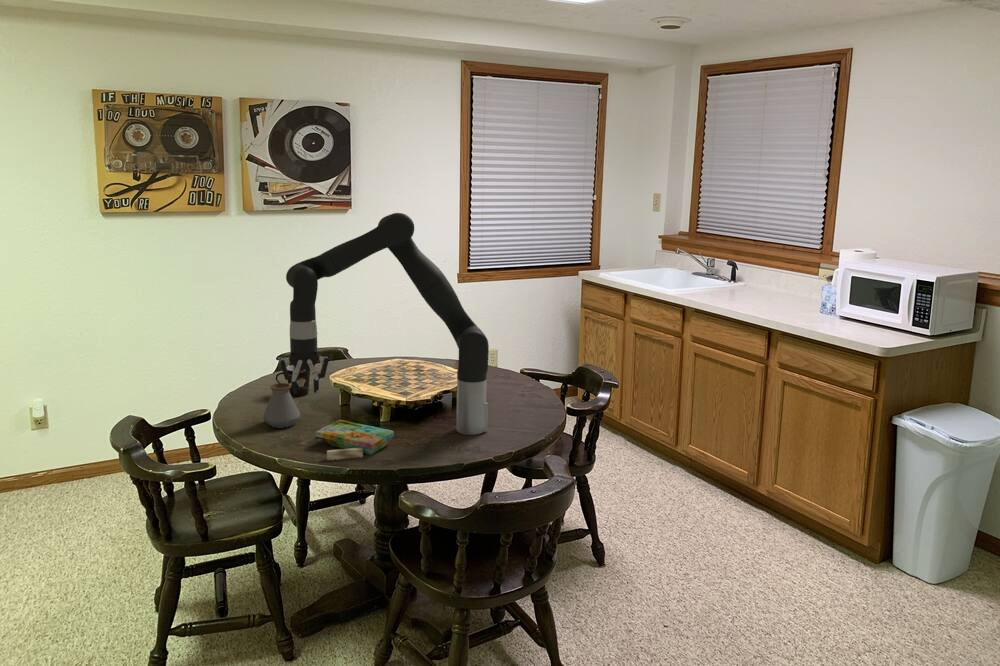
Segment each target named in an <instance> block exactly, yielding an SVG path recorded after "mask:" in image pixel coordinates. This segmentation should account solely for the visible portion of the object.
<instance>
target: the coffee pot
mask: <svg viewBox="0 0 1000 666" xmlns="http://www.w3.org/2000/svg"><path fill="white" fill-rule="evenodd" d="M300 373H301V371H299V373H298V375H299V374H300ZM298 375H297V378H298ZM297 378H296V379H297ZM291 385H292V383H291V382H290V384H288V382H280V383H278V382H277V383H272V384H270V386H269V388H270V389H271V396H270V398H269V400H268V403H267V405H266V407H265V411H264V413H263V415H262V418H263V420H264V422H265V423H266V424H267V425H269V426H270V425H271V426H272V427H271V426H270V427H271V428H274V427H277V428H276V429H284V427H286V428H290V427H293V426H294V425H295V423H297V422H298V421H299V419H300V417H301V413H300V410H299V408H298V407H297V405H296V402H295V401H294V398H293V397H292V396H291V394H290V391H289V390H290V388H291ZM289 426H290V427H289Z"/></svg>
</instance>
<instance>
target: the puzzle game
mask: <svg viewBox="0 0 1000 666" xmlns="http://www.w3.org/2000/svg"><path fill="white" fill-rule="evenodd" d="M315 436H316V437H317V438H321V439H325V441H326V443H327V444H329V446H333V447H338V448H340V449H350V448H363V454H366V455H373V454H375V453H376V452H379V451H380V450H382V449H383V448H384V447H386V446H387V445H389V443H390V442H391V440H392V438H394V437H395V431H393V430H391V429H385V428H381V427H376V426H373V425H372V426H371V425H367V424H362V423H358V422H354V421H353V422H352V421H348V420H343V419H337V420H335V421H334V422H332V423H330V424H328V425H326V426H324V427H321V429H319V430H317V431H315Z"/></svg>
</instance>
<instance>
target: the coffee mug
mask: <svg viewBox="0 0 1000 666" xmlns="http://www.w3.org/2000/svg"><path fill="white" fill-rule="evenodd" d="M286 368H287V371H288V374H289V375H292V373H293V369H294V366H293V364H292V365H288V366H286ZM280 375H284V374H283V372H279V373H277V374H276V375H275V380H276V382H277V383H281V382H280V381H279V380H278V378H279V376H280ZM310 377H311V370H302V371H301V373H300V374H299V375H298V378H297V379H296V381H297V394H294V392H292V385H291V388H290V390H289V392H290V394H291V396H294V398H302V396H303V397H306V395H307V396H308V395H309V389H310ZM290 382H291V381H290V380H287V383H288V384H290Z"/></svg>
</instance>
